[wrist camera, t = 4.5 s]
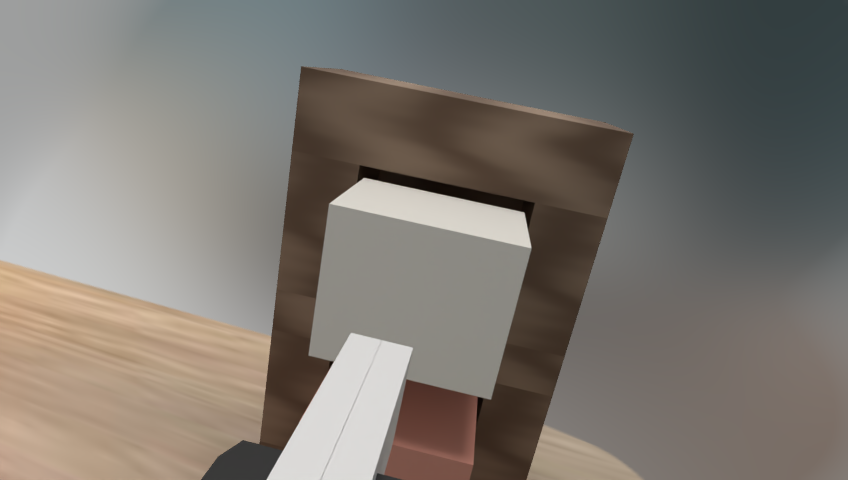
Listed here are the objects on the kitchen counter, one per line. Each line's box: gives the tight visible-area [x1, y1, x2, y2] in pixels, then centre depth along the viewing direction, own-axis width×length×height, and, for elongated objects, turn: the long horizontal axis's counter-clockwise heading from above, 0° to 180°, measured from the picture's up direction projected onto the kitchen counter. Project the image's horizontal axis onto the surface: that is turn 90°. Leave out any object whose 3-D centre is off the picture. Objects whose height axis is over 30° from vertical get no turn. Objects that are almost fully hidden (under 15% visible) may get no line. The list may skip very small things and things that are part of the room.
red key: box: [299, 364, 478, 480], centre depth 24 cm, size 7×5×6 cm
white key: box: [308, 178, 532, 400], centre depth 21 cm, size 7×5×6 cm
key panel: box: [260, 67, 633, 480], centre depth 28 cm, size 14×6×24 cm, turn 82°
